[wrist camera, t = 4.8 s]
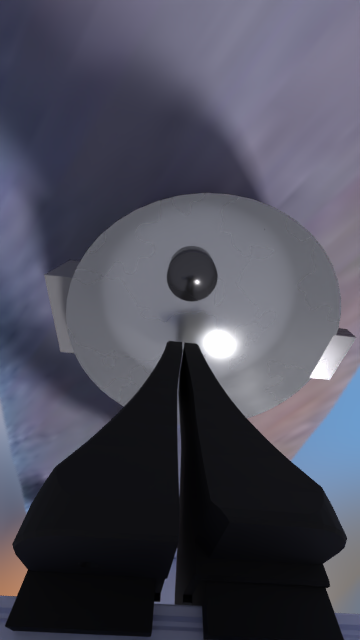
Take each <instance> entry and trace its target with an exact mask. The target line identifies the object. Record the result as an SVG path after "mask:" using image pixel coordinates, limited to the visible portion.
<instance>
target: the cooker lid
mask: <svg viewBox="0 0 360 640" xmlns="http://www.w3.org/2000/svg"><path fill="white" fill-rule="evenodd" d="M340 315H341V296H340V290H339V284H338V280H337V277H336V274H335V271H334V268H333V266H332V263H331V262H330V260H329V258H328V256H327V255H326V253H325V251H324V249H323V248H322V246H321V245H320V244H319V243H318V242H317V240H316V239H315V238H314V237H313V236H312V234H311V233H310V232H309V231H308V230H306V229H305V228H304V227H303V226H302V225H300V224H299V223H298V222H297V221H296V220H294V219H293V218H291V217H290V216H288V215H286V214H285V213H283V212H281V211H279V210H278V209H276V208H274V207H272V206H269V205H267V204H264V203H261V202H259V201H256V200H254V199H250V198H245V197H240V196H235V195H231V194H217V193H197V194H187V195H179V196H175V197H171V198H167V199H163V200H159V201H156V202H153V203H151V204H149V205H146V206H144V207H141V208H139V209H137V210H135V211H133V212H131V213H130V214H128V215H126V216H125V217H123V218H121V219H120V220H118V221H116V222H115V223H114V224H113V225H112V226H110V227H109V228H108V229H107V230H106V231H105V232H103V233H102V234H101V235H100V236H99V237H98V238H97V239H96V241H95V242H94V243H93V244H92V245H91V246H90V248H89V249H88V250H87V251H86V253H85V255H84V256H83V258H82V259H81V261H80V263H79V264H78V266H77V268H76V271H75V273H74V275H73V278H72V280H71V283H70V287H69V292H68V296H67V304H66V322H67V331H68V335H69V339H70V343H71V346H72V348H73V351H74V353H75V356H76V358H77V359H78V361H79V363H80V365H81V366H82V368H83V370H84V371H85V372H86V374H87V375H88V376H89V378H90V379H91V380H92V381H93V382H94V383H95V384H96V385H97V386H98V387H99V388H100V389H101V390H102V391H103V392H104V393H105V394H107V395H108V396H109V397H110V398H112V399H113V400H115V401H116V402H118V403H119V404H121V405H122V406H125V405H126V404H127V403H128V402H129V401H130V400H131V399H132V398H133V396H134V395H135V394H136V393H137V392H138V390H139V389H140V388H141V387H142V385H143V384H144V383H145V381H146V380H147V378H148V377H149V376H150V374H151V373H152V371H153V370H154V368H155V367H156V365H157V363H158V361H159V360H160V358H161V356H162V354H163V352H164V350H165V347H166V344H167V342H168V341H176V342H182V346H183V348H184V342H186V343H196V344H198V345H199V347H200V350H201V352H202V354H203V356H204V358H205V360H206V362H207V363H208V365H209V367H210V369H211V370H212V372H213V374H214V375H215V377H216V379H217V380H218V382H219V383H220V385H221V386H222V388H223V389H224V391H225V392H226V393H227V395H228V396H229V397H230V399H231V400H232V401H233V403H234V404H235V405H236V406H237V408H238V409H239V410H240V411H241V412H242V414H243V415H244V416H245V417H246V418H250V417H253V416H255V415H258V414H261V413H263V412H265V411H267V410H269V409H271V408H273V407H275V406H277V405H279V404H280V403H282V402H284V401H285V400H287V399H288V398H289V397H291V396H292V395H294V394H295V393H296V392H298V391H299V390H300V389H301V388H302V387H303V386H304V385H305V384H306V383H307V382H308V381H309V380H310V379H311V378H318V379H328V380H330V378H331V377H332V375H333V374H334V372H335V370H336V369H337V367H338V366H339V364H340V363H341V361H342V359H343V358H344V356H345V355H346V353H347V352H348V350H349V349H350V347H351V345H352V344H353V342H354V341H355V339H356V337H355V336H354V335H353V334H352V333H350V332H349V331H348V330H347V329H340V328H338V327H339V321H340ZM182 354H183V353H182ZM181 361H182V359H181ZM180 367H181V366H180ZM179 374H180V372H179ZM178 392H179V379H178V388H177V424H180V415H179V395H178Z"/></svg>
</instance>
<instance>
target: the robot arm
mask: <svg viewBox="0 0 360 640" xmlns="http://www.w3.org/2000/svg"><path fill="white" fill-rule="evenodd" d="M182 353H183V354H182ZM181 359H182V361H181ZM180 366H181V367H180ZM179 372H180V374H179ZM178 379H179V392H178V395H179V415H180V424H177V388H178ZM346 540H347V537H346V534H345V532H344V530H343V528H342V526H341V524H340V522H339V520H338V517H337V515H336V513H335V511H334V509H333V507H332V505H331V503H330V501H329V499H328V498H327V496H326V494H325V492H324V491H323V489H322V487H321V486H320V485H318V484H317V483H316V482H315V481H314V480H312V479H311V478H310V477H309V476H307V475H306V474H305V473H304V472H303V471H301V470H300V469H299V468H298V467H297V466H296V465H294V464H293V463H292V462H291V461H290V460H288V459H287V458H286V457H285V456H284V455H283V454H282V453H281V452H280V451H279V450H277V449H276V448H275V447H274V446H273V445H272V444H271V443H270V442H269V441H268V440H267V439H266V438H265V437H264V436H263V435H262V434H261V433H260V432H259V431H258V430H257V429H256V428H255V427H254V426H253V425H252V424H251V423H250V422H249V420H248V419H247V418H246V417H245V416H244V415H243V414H242V412H241V411H240V410H239V409H238V408H237V406H236V405H235V404H234V403H233V401H232V400H231V399H230V397H229V396H228V395H227V393H226V392H225V391H224V389H223V388H222V386H221V385H220V383H219V382H218V380H217V379H216V377H215V375H214V374H213V372H212V370H211V369H210V367H209V365H208V363H207V362H206V360H205V358H204V356H203V354H202V352H201V350H200V347H199V345H198V344H196V343H186V342H184V348H183V346H182V342H176V341H168V342H167V344H166V347H165V350H164V352H163V354H162V356H161V358H160V360H159V361H158V363H157V365H156V367H155V368H154V370H153V371H152V373H151V374H150V376H149V377H148V378H147V380H146V381H145V383H144V384H143V385H142V387H141V388H140V389H139V390H138V392H137V393H136V394H135V395H134V396H133V398H132V399H131V400H130V401H129V402H128V403H127V404H126V405H125V406H124V407H123V408H122V410H121V411H120V412H119V413H118V414H117V415H116V416H115V417H114V418H113V419H112V420H111V421H109V422H108V423H107V424H106V425H105V426H104V427H103V428H102V429H101V430H100V431H98V432H97V433H96V434H95V435H94V436H93V437H92V438H91V439H90V440H88V441H87V442H86V443H85V444H83V445H82V446H81V447H80V448H78V449H77V450H76V451H75V452H73V453H72V454H71V455H70V456H68V457H67V458H66V459H65V460H63V461H62V462H61V463H60V464H58V465H57V466H56V467H55V468H54V470H53V471H52V472H51V474H50V475H49V477H48V478H47V480H46V481H45V483H44V484H43V486H42V488H41V489H40V491H39V492H38V494H37V496H36V497H35V499H34V501H33V502H32V504H31V506H30V508H29V510H28V512H27V515H26V517H25V519H24V521H23V523H22V525H21V527H20V529H19V531H18V534H17V535H16V538H15V540H14V542H13V549H14V551H15V554H16V555H17V557H18V558H19V559H20V560H21V561H22V563H23V564H24V565H25V566H26V568H27V569H28V571H27V574H26V576H25V578H24V581H23V583H22V586H21V588H20V590H19V593H18V595H17V596H0V640H360V614H346V613H334V610H333V608H332V605H331V602H330V599H329V597H328V594H327V591H326V588H328V587H330V584H329V579H328V576H327V574H326V571H325V568H324V566H323V563H325V562H326V561H327V560H329V559H330V558H332V557H333V556H335V555H336V554H338V553H339V552H340V551H341V550H342V549H343V548H344V547H345V544H346Z"/></svg>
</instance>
